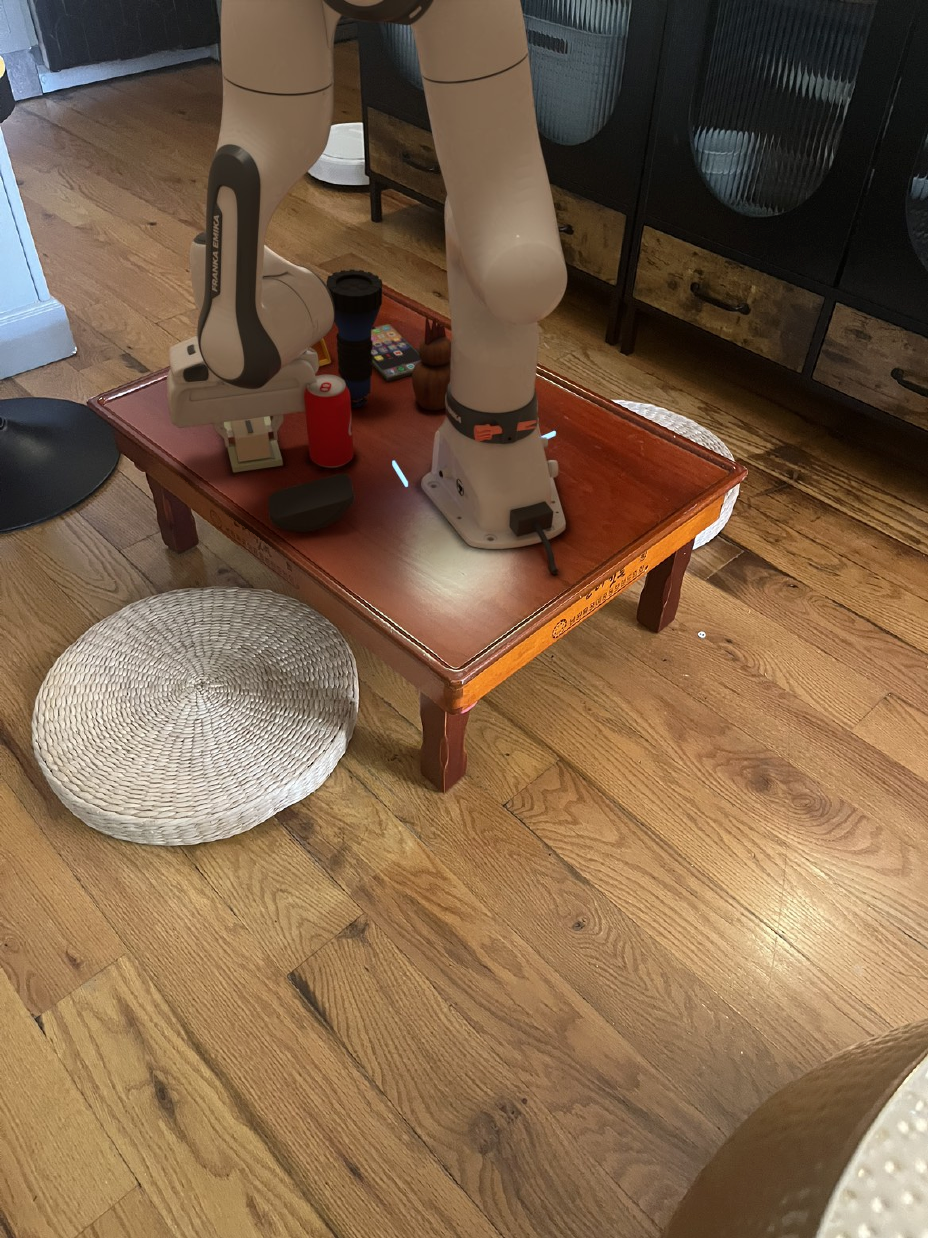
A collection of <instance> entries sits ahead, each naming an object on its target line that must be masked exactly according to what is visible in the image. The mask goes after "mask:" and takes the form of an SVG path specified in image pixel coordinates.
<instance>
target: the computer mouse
mask: <svg viewBox="0 0 928 1238" xmlns="http://www.w3.org/2000/svg"><path fill="white" fill-rule="evenodd" d="M354 502H355V492H354V487H353V483H352V479H351V476H350V475H349V474H348V473H339V474H333V475H330V476H326V477H322V478H318V479H315V480H311V481H308V482H303V483H299V484H296V485H293V486H289V487H285V488H281V489H279V490H275V491H274V492H272V493H271V494H269V496H268V499H267V507H268V515H269V521H270V523H271V524H272V525H273V526H274V527H276V528H278V529H281V530H284V531H288V532H293V533H307V532H313V531H317V530H318V531H319V530H322V529H324V528H326V527H329V526H330V525H332V524H334V523H335V522H337V521H338V520H339V519H341V518H342V517H343V516H344V515H346V513H347V512H348V511H349V509H351V507H352V506H353V504H354Z"/></svg>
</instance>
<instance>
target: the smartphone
mask: <svg viewBox="0 0 928 1238" xmlns="http://www.w3.org/2000/svg"><path fill="white" fill-rule="evenodd" d="M371 341H373V348H372V350H371V354H373V357H372V363H371V365H372V367H374V368H375V369H376V371H377V372H378V373H379V374H380V375H381V376H382V377H383V379H385V380H386V382H391V381H395V380H399V379H403V378H406V377H409V376H412V372H413V369H414V366H415V365H416V364H417V363H418V362H419V361H420V360H421V358H420V355H419V353H418V352H417V351H416V350H415V349H416V348H414V347H413V346H412V345H411V344H410V343H409V342H408V341H407V340H406V339H405V338H404V336H403V335H401V334H400V333H399V331H397V329H395V328H394V327H393V326H392V325H391V324H390V323H386V324H382V325H377V326H373V327H372V329H371Z"/></svg>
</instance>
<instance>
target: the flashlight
mask: <svg viewBox="0 0 928 1238" xmlns="http://www.w3.org/2000/svg"><path fill="white" fill-rule="evenodd" d="M325 284H326V285H327V287H328V289H329V291H330V293H331V296H332V299H333V302H334V308H335V319H334V325H335V327H336V328H337V333H336V353H337V365H338V374H339V377H340V378H342V379H343V380H344V381H345V384H346V386H347V388H348V390H349V392H350V401H351V408H360V407H362V406H364V405H366V404H367V402H368V401H369V399H368V398H366V397H367V396H368V395H369V394H371V389H372V387H371V386H372V383H371V382H372V376H373V365H372V364H371V363H372V357H373V354H371V350H372V348H373V341H371V329H372V327H374V325H375V322H376V320H377V318H378V316H379V312H380V310H381V306H382V305H383V280H382V279H381V278H380V277H379V275H377V274H373V272H371V271H365V270H363V269H359V270H355V269H349V270H345V269H343V270H340V271H335V272H332V274H331V275H330V274H329V275H328V276H327V279H326V282H325Z"/></svg>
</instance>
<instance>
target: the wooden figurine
mask: <svg viewBox="0 0 928 1238" xmlns="http://www.w3.org/2000/svg"><path fill="white" fill-rule="evenodd" d="M424 326H425V327H424V337H423V338H422V339H421V340H420V342H419V346H418V350H419V355H420V358H421V360H420V361H419V362H418V363H417V364H416V365H415V366H414V369H413V372H412V375H411V385H412V389H413V392H414V396H415V399H416V402H417V403H418V405H419V406H420V407H421V408H423V409H424V410H428V411H439V410H443V409H446V404H445V397H446V393H447V386H448V384H449V382H450V370H451V340H450V339H449V338H448V337H447V335H446V329H445V325H443V324H441V322H439V321H438V322H437V319H436V317H433V318H432V323H431V325H430V320H429V318H428V317H426V318H425V325H424Z"/></svg>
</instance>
